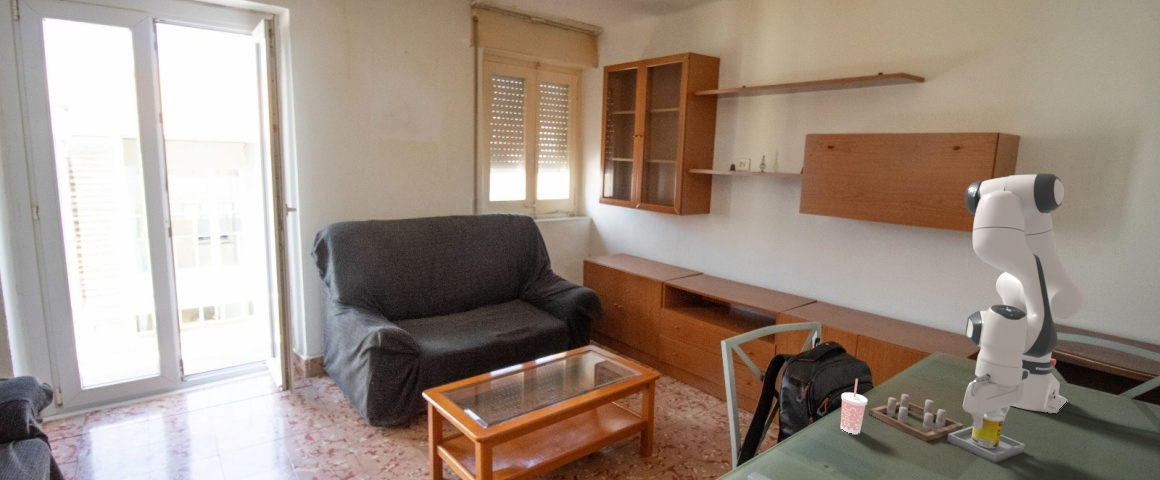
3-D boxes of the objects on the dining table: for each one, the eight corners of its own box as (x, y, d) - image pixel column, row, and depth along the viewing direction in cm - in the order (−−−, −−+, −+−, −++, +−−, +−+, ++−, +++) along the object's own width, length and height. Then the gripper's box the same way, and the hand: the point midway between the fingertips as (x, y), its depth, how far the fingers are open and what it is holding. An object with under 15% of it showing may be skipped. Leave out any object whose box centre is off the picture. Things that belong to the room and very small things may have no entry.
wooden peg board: (904, 404, 164) (906, 388, 163) (962, 429, 150) (965, 412, 149) (868, 414, 156) (870, 397, 155) (926, 441, 142) (929, 423, 141)
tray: (975, 431, 149) (976, 424, 149) (1023, 452, 139) (1024, 444, 139) (947, 441, 143) (948, 433, 143) (994, 463, 133) (996, 455, 133)
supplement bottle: (998, 452, 137) (1005, 413, 136) (971, 445, 140) (977, 406, 139) (997, 443, 142) (1004, 405, 140) (970, 436, 145) (977, 398, 143)
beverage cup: (832, 426, 148) (838, 375, 146) (849, 422, 151) (855, 373, 148) (851, 437, 143) (858, 385, 140) (868, 433, 145) (875, 382, 143)
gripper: (988, 383, 130) (979, 438, 133) (1033, 370, 140) (1024, 422, 142) (960, 373, 136) (951, 426, 138) (1005, 361, 146) (996, 412, 148)
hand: (988, 424), depth 140 cm, fingers open, 8 cm apart
